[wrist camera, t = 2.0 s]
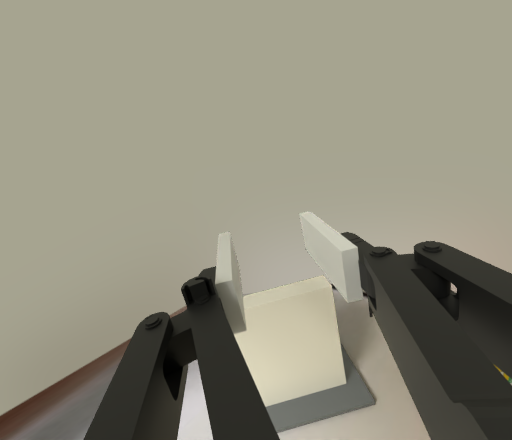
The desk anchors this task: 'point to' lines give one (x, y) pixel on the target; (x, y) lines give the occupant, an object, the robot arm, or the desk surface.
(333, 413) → the mat
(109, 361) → the desk surface
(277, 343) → the tile
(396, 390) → the desk surface
